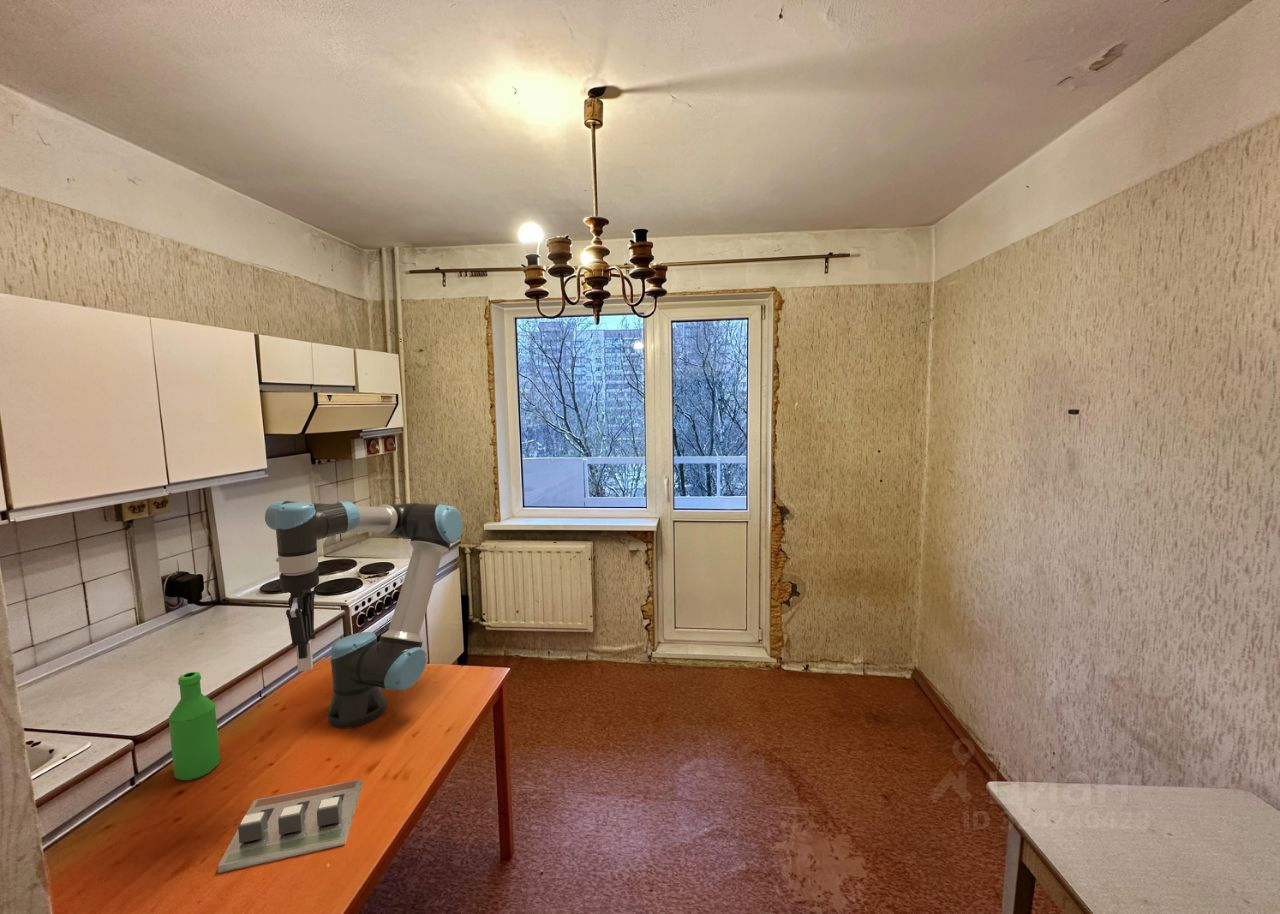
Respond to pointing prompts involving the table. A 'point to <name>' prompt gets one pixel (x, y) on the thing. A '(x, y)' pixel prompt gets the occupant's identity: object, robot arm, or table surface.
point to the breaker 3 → (329, 811)
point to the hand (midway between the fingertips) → (305, 668)
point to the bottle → (193, 731)
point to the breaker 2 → (291, 819)
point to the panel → (297, 841)
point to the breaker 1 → (252, 827)
